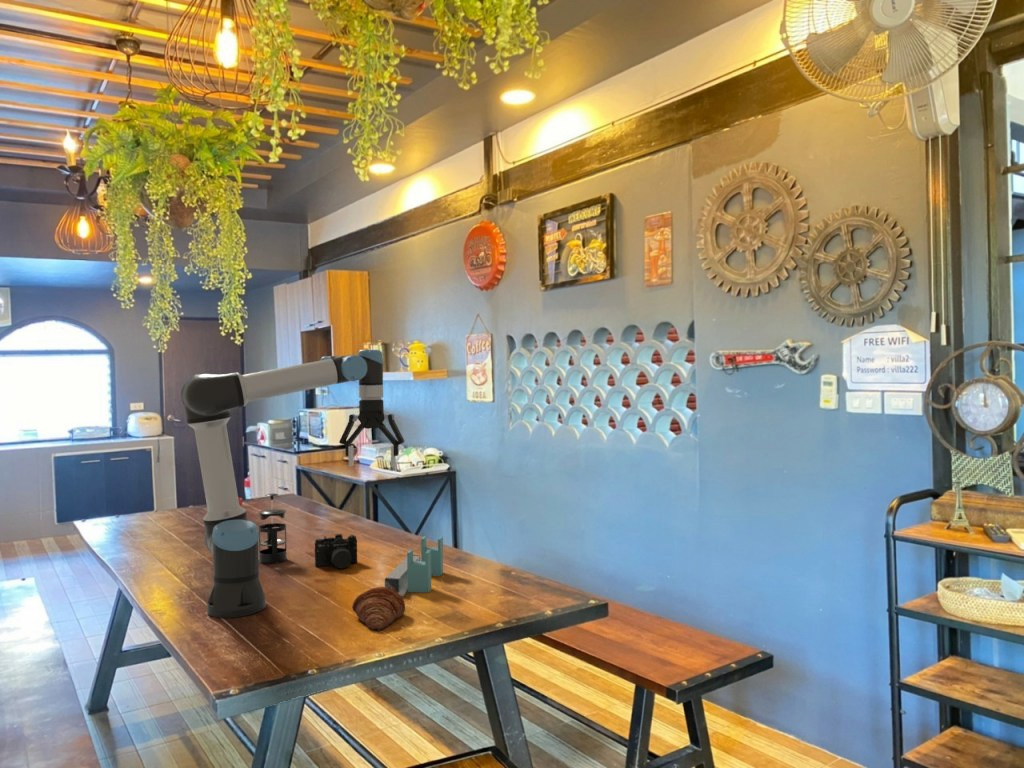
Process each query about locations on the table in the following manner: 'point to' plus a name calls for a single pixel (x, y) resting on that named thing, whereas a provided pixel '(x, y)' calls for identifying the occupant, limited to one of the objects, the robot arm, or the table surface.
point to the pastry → (379, 607)
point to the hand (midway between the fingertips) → (372, 466)
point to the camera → (336, 551)
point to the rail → (399, 575)
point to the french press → (272, 537)
